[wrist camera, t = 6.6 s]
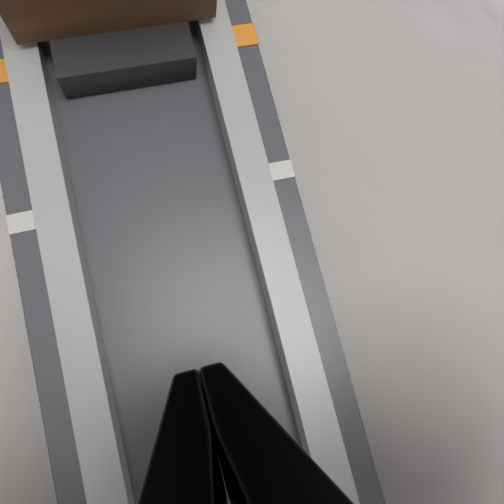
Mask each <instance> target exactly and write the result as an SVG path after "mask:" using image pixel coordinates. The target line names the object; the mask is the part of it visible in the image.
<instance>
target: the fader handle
mask: <svg viewBox="0 0 504 504" xmlns="http://www.w3.org/2000/svg"><path fill="white" fill-rule="evenodd" d="M216 9H217V0H0V16H1V18H2V19H3V21H4V23H5V25H6V26H7V28H8V30H9V32H10V33H11V35H12V37H13V38H14V40H15V42H16V44H17V45H21V44H29V43H36V42H43V41H49V44H50V48H51V53H52V58H53V63H54V68H55V73H56V78H57V80H58V82H59V84H60V86H61V88H62V90H63V92H64V94H65V96H66V98H67V99H70V98H76V97H83V96H89V95H95V94H101V93H107V92H114V91H120V90H126V89H132V88H139V87H145V86H151V85H157V84H164V83H170V82H176V81H182V80H189V79H195V78H196V70H197V56H196V52H195V48H194V44H193V40H192V36H191V32H190V28H189V24H188V21H194V20H201V19H208V18H215V17H216Z"/></svg>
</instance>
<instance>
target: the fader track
mask: <svg viewBox="0 0 504 504" xmlns="http://www.w3.org/2000/svg"><path fill="white" fill-rule="evenodd" d="M188 24H189V28H190V32H191V36H192V40H193V44H194V48H195V52H196V56H197V70H196V78H195V79H189V80H182V81H176V82H170V83H164V84H157V85H151V86H145V87H139V88H132V89H126V90H120V91H114V92H107V93H101V94H95V95H89V96H83V97H76V98H70V99H67V98H66V96H65V94H64V92H63V90H62V88H61V86H60V84H59V82H58V80H57V78H56V73H55V68H54V63H53V58H52V53H51V48H50V44H49V41H43V42H36V43H29V44H21V45H17V44H16V42H15V40H14V38H13V37H12V35H11V33H10V32H9V30H8V28H7V26H6V25H5V23H4V21H3V19H2V18H1V16H0V180H1V186H2V192H3V197H4V203H5V209H6V214H7V215H6V221H7V226H8V232H9V235H10V237H11V243H12V248H13V254H14V260H15V265H16V271H17V277H18V282H19V288H20V294H21V299H22V305H23V311H24V316H25V322H26V328H27V333H28V339H29V345H30V350H31V356H32V361H33V367H34V373H35V378H36V384H37V390H38V395H39V401H40V407H41V412H42V418H43V424H44V429H45V435H46V441H47V446H48V452H49V458H50V463H51V469H52V475H53V480H54V486H55V492H56V497H57V503H58V504H137V502H138V498H139V495H140V491H141V488H142V484H143V481H144V477H145V473H146V470H147V466H148V463H149V459H150V456H151V452H152V449H153V445H154V442H155V438H156V435H157V431H158V427H159V424H160V420H161V417H162V413H163V410H164V406H165V403H166V399H167V396H168V392H169V388H170V385H171V381H172V378H173V376H174V375H175V374H177V373H180V372H184V371H188V370H191V369H197V370H198V372H199V370H200V368H201V367H203V366H206V365H210V364H214V363H218V362H221V363H223V364H225V365H226V366H227V367H228V368H229V370H230V371H231V372H232V373H233V374H234V375H235V376H236V377H237V378H238V379H239V380H240V381H241V382H242V383H243V385H244V386H245V387H246V388H247V389H248V390H249V391H250V392H251V393H252V394H253V395H254V396H255V397H256V399H257V400H258V401H259V402H260V403H261V404H262V405H263V406H264V407H265V408H266V409H267V410H268V411H269V413H270V414H271V415H272V416H273V417H274V418H275V419H276V420H277V421H278V422H279V423H280V424H281V425H282V427H283V428H284V429H285V430H286V431H287V432H288V433H289V434H290V435H291V436H292V437H293V438H294V439H295V441H296V442H297V443H298V444H299V445H300V446H301V447H302V448H303V449H304V450H305V451H306V452H307V453H308V455H309V456H310V457H311V458H312V459H313V460H314V461H315V462H316V463H317V464H318V465H319V466H320V467H321V468H322V470H323V471H324V472H325V473H326V474H327V475H328V476H329V477H330V478H331V479H332V480H333V481H334V482H335V484H336V485H337V486H338V487H339V488H340V489H341V490H342V491H343V492H344V493H345V494H346V495H347V496H348V498H349V499H350V500H351V501H352V502H353V503H354V504H385V502H384V499H383V495H382V491H381V488H380V484H379V481H378V477H377V473H376V470H375V466H374V463H373V459H372V455H371V452H370V448H369V444H368V441H367V437H366V434H365V430H364V426H363V423H362V419H361V415H360V412H359V408H358V405H357V401H356V397H355V394H354V390H353V387H352V383H351V379H350V376H349V372H348V368H347V365H346V361H345V358H344V354H343V350H342V347H341V343H340V340H339V336H338V332H337V329H336V325H335V321H334V318H333V314H332V311H331V307H330V303H329V300H328V296H327V292H326V289H325V285H324V282H323V278H322V274H321V271H320V267H319V264H318V260H317V256H316V253H315V249H314V245H313V242H312V238H311V235H310V231H309V227H308V224H307V220H306V217H305V213H304V209H303V206H302V202H301V198H300V195H299V191H298V188H297V184H296V180H295V173H294V170H293V166H292V162H291V159H289V155H288V151H287V148H286V144H285V141H284V137H283V133H282V130H281V126H280V122H279V119H278V115H277V112H276V108H275V104H274V101H273V97H272V94H271V90H270V86H269V83H268V79H267V75H266V72H265V68H264V65H263V61H262V57H261V54H260V50H259V46H258V44H259V43H258V40H257V36H256V32H255V29H254V25H253V23H252V21H251V18H250V14H249V10H248V7H247V3H246V0H217V9H216V17H215V18H208V19H201V20H194V21H188ZM199 375H200V374H199ZM219 462H220V461H219ZM221 471H222V470H221ZM222 475H223V474H222ZM223 480H224V479H223ZM224 485H225V483H224ZM225 490H226V487H225ZM226 495H227V500H228V504H230V501H229V498H228V494H227V490H226Z"/></svg>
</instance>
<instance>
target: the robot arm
mask: <svg viewBox="0 0 504 504" xmlns="http://www.w3.org/2000/svg"><path fill="white" fill-rule="evenodd" d="M199 374H200V375H199ZM219 461H220V462H219ZM221 470H222V471H221ZM222 474H223V475H222ZM223 479H224V480H223ZM224 483H225V485H224ZM225 487H226V490H227V494H228V498H229V501H230V504H354V503H353V502H352V501H351V500H350V499H349V498H348V496H347V495H346V494H345V493H344V492H343V491H342V490H341V489H340V488H339V487H338V486H337V485H336V484H335V482H334V481H333V480H332V479H331V478H330V477H329V476H328V475H327V474H326V473H325V472H324V471H323V470H322V468H321V467H320V466H319V465H318V464H317V463H316V462H315V461H314V460H313V459H312V458H311V457H310V456H309V455H308V453H307V452H306V451H305V450H304V449H303V448H302V447H301V446H300V445H299V444H298V443H297V442H296V441H295V439H294V438H293V437H292V436H291V435H290V434H289V433H288V432H287V431H286V430H285V429H284V428H283V427H282V425H281V424H280V423H279V422H278V421H277V420H276V419H275V418H274V417H273V416H272V415H271V414H270V413H269V411H268V410H267V409H266V408H265V407H264V406H263V405H262V404H261V403H260V402H259V401H258V400H257V399H256V397H255V396H254V395H253V394H252V393H251V392H250V391H249V390H248V389H247V388H246V387H245V386H244V385H243V383H242V382H241V381H240V380H239V379H238V378H237V377H236V376H235V375H234V374H233V373H232V372H231V371H230V370H229V368H228V367H227V366H226V365H225V364H223V363H221V362H218V363H214V364H210V365H206V366H203V367H201V368H200V370H199V372H198V370H197V369H191V370H188V371H184V372H180V373H177V374H175V375H174V376H173V378H172V381H171V385H170V388H169V392H168V396H167V399H166V403H165V406H164V410H163V413H162V417H161V420H160V424H159V427H158V431H157V435H156V438H155V442H154V445H153V449H152V452H151V456H150V459H149V463H148V466H147V470H146V473H145V477H144V481H143V484H142V488H141V491H140V495H139V498H138V502H137V504H228V500H227V495H226V490H225Z"/></svg>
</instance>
